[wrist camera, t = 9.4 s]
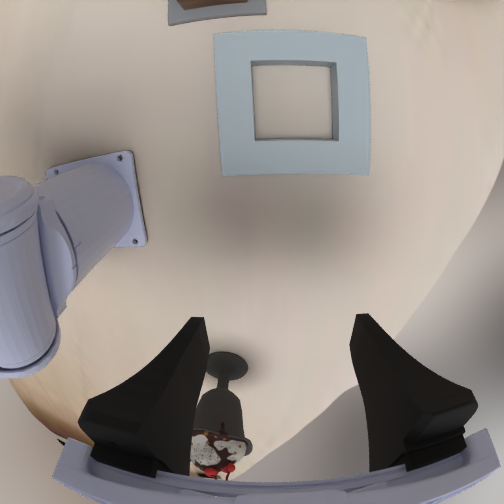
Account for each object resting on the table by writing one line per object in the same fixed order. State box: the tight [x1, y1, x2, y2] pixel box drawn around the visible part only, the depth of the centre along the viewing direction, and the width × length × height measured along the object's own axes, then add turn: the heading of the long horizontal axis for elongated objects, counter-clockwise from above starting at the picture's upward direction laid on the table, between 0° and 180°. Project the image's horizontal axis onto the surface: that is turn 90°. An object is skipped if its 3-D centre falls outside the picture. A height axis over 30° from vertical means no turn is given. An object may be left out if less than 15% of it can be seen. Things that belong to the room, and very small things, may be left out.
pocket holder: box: [214, 30, 371, 176], centre depth 16 cm, size 10×10×2 cm
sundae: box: [190, 352, 252, 481], centre depth 22 cm, size 7×7×15 cm
